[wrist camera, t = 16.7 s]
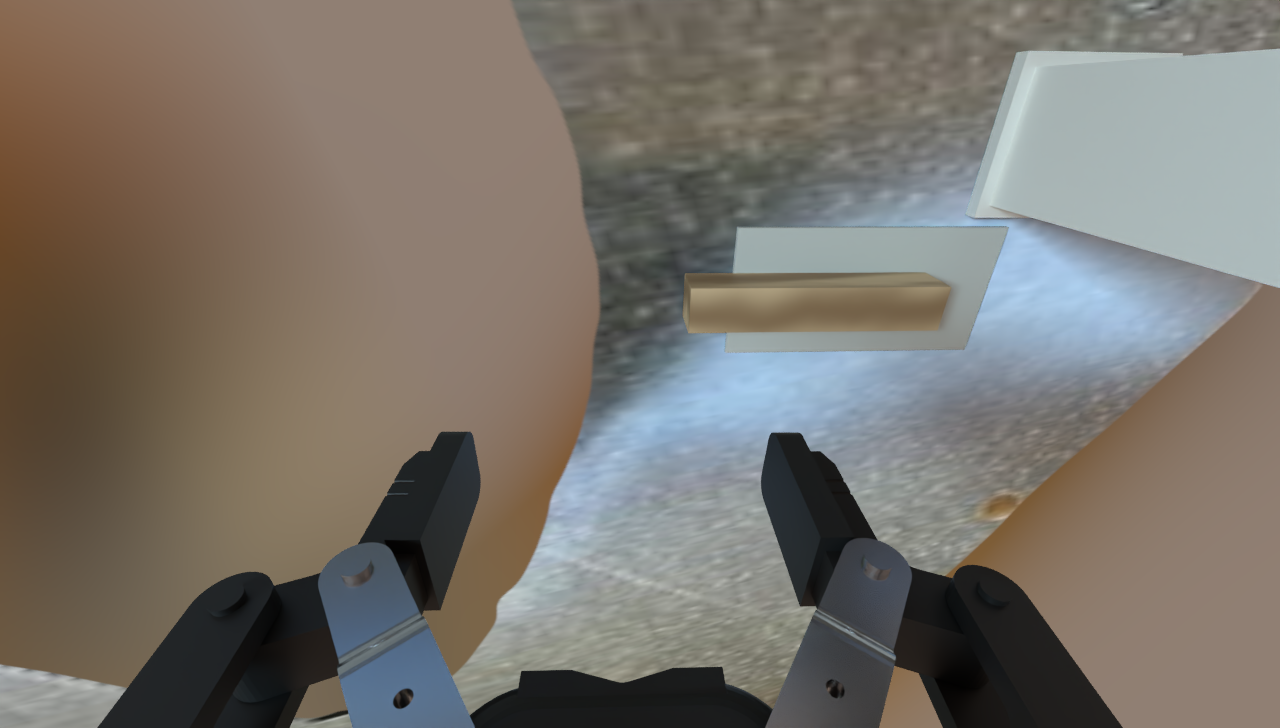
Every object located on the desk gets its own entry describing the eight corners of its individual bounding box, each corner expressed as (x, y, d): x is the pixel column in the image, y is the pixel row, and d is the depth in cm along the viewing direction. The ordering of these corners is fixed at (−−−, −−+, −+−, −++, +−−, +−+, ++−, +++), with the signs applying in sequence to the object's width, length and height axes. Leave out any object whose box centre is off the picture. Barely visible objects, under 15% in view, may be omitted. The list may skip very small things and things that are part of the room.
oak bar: (684, 273, 44) (691, 288, 40) (925, 272, 45) (951, 287, 41) (682, 315, 46) (688, 333, 42) (912, 313, 47) (937, 330, 43)
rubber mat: (737, 226, 42) (738, 227, 42) (1005, 226, 43) (1008, 227, 43) (724, 350, 48) (725, 352, 48) (961, 347, 49) (964, 349, 49)
